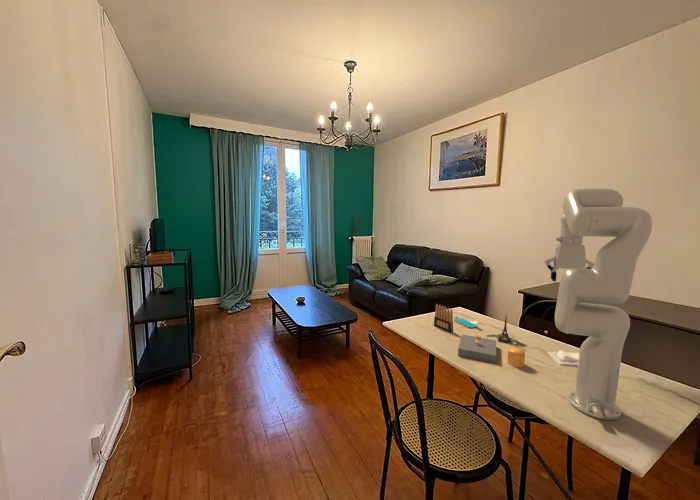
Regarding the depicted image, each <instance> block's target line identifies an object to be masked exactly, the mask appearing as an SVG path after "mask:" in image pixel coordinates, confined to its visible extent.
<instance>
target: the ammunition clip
mask: <svg viewBox="0 0 700 500" xmlns="http://www.w3.org/2000/svg"><path fill="white" fill-rule="evenodd" d="M453 316H454V314H453V308H452V307H451V308H450V307H449V306H448V307H447V305H446V306H444V305H443V304H442V305H441V304H438V303H436V304H435V312H434V318H433V319H434V320H433V327H435V326H436V328H437V327H438V329H440V328H441V329H440V330H442V329H443V331H445V332H447V331H448V333H449V334H450V333H451V332H452V333H453V332H454V317H453Z"/></svg>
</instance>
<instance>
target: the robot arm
mask: <svg viewBox="0 0 700 500" xmlns="http://www.w3.org/2000/svg"><path fill="white" fill-rule="evenodd" d="M623 204H624V197H623V195H622V194H621V193H620V192H619V191H618V190H615V189H612V188H576V189H573V190H570V191H569V192H568V193H567V194H566V196H565V197H564V199H563V203H562V210H563V211H562V212H563V213H562V215H561V217H560V226H561V228H560V235H559V237H556V239H555V241H556V242H558V243H557V245H556V249H555V253H554V256H553V257H550V258H548V259H546V260H544V263H545V265H546V268H547V269H549V270H550V279H551V281H552V282H557V275H558V274H557V272H556V271H557V270H559V269H566V270H565V271H563V273H562V275H561V277H560V280H559V286H558V292H557V299H556V304H555V305H556V306H555V311H554V324H555V327H556V328H557V329H558V331H559V332H562V333H566V334H570V335H571V334H572V335H577V336H586V337H587V338H586V339H585V340H584V341H583V342H582V343H581V346H580V347H579V352H578V353H579V361H578V367H577V372H576V373H577V374H576V382H575V391H572V392H570V393H569V394H568V402H569V403H570V404H571V405H572V407H574V408H575V409H577V410H578V411H580V412H582V413H584V414H586V415H587V416H590V417H593V418H597V419H600V420H601V419H602V420H606V421H607V420H608V421H616V420H618V419H621V417H622V409H621V407H620V406H618V405H617V404H616V401H617V392H618V386H619V385H618V384H619V376H620V370H621V369H620V368H621V362H622V354H623V349H624V344H625V341H626V339H627V335H628V333H629V331H630V327H631V319H630V316H629V314H628V313H627V312H626V311H625V310H624V309H622V308H620V307H617V306H613V305H621V304H624V303H626V301H627V300H628V299H629V297H630V293H631V288H632V284H633V281H634V275H635V270H636V267H637V266H636V265H637V262H638V258H639V256H640V255H641V253H642V251H643V250H644V248H645V246H646V245H647V243H648V241H649V239H650V236H651V233H652V229H653V220H652V216H651V214H650V213H649V212H648V211H647V210H645V209H642V208H639V207H634V206H633V207H632V206H623ZM584 237H595V238H596V237H597V238H598V237H600V238H610V237H611V238H613V239H611V240H610V241H608V242H607V243H605V244H604V245H603V247H601V248H600V249H599V250H598V251H597V253H596V256H595V260H594V261H595V262H592V261H590V260H588V259H586V258H587V257H586V256H587V255H586V245H585V244H583V239H584ZM550 263H553V266H552V265H551V264H550ZM586 264H587V266H586ZM607 304H608V305H607Z"/></svg>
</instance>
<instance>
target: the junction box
mask: <svg viewBox="0 0 700 500" xmlns="http://www.w3.org/2000/svg"><path fill="white" fill-rule="evenodd" d="M457 356H458V357H463V358H469V359H473V360H480V361H485V362H489V363H494V364H495V363H496V362H497V339H492V338H486V337H481V335H468V334H462V335H461V337H460V341H459V344H458V349H457Z"/></svg>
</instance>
